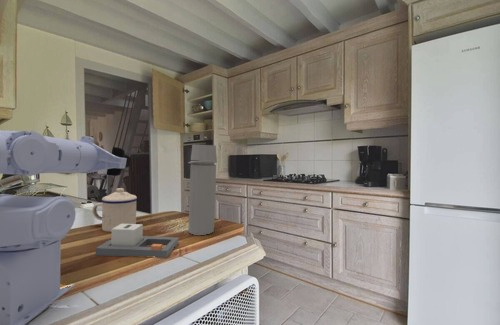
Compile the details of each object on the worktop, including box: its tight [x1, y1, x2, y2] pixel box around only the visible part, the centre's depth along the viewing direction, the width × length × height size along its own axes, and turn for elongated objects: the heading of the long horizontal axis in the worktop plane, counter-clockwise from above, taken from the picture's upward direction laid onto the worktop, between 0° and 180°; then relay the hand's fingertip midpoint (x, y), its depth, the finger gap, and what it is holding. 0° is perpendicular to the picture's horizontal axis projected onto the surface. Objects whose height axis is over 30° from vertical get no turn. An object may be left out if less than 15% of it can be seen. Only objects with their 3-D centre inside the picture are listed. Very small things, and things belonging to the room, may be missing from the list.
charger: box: [110, 223, 144, 246], centre depth 53 cm, size 4×5×5 cm
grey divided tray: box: [95, 235, 180, 259], centre depth 54 cm, size 8×15×3 cm, turn 90°
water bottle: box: [187, 144, 218, 236], centre depth 67 cm, size 9×8×25 cm
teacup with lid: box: [92, 187, 138, 233], centre depth 68 cm, size 12×9×12 cm
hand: (112, 159), depth 54 cm, fingers open, 7 cm apart
